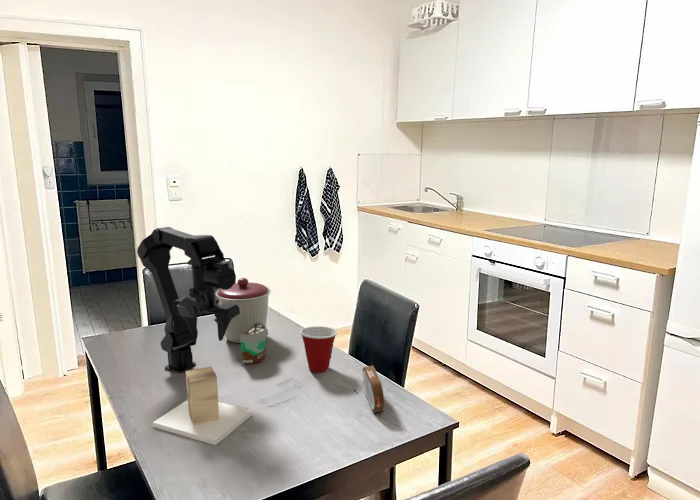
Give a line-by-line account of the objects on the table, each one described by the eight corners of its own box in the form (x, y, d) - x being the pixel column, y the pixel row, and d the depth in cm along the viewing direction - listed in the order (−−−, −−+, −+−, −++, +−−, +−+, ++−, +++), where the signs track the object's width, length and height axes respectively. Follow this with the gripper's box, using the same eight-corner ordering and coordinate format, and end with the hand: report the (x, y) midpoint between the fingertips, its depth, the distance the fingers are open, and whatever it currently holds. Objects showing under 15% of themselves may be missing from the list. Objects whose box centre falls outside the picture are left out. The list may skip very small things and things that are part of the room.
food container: (260, 369, 150) (259, 337, 148) (240, 367, 151) (239, 335, 149) (274, 352, 162) (273, 322, 160) (256, 350, 163) (255, 321, 161)
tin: (385, 417, 124) (385, 386, 122) (372, 419, 123) (373, 387, 121) (372, 388, 138) (372, 360, 136) (361, 389, 138) (361, 360, 136)
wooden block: (188, 413, 123) (185, 371, 121) (213, 407, 126) (211, 366, 123) (193, 425, 118) (190, 381, 115) (219, 419, 120) (216, 376, 118)
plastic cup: (343, 364, 153) (343, 327, 150) (327, 379, 143) (326, 339, 141) (311, 358, 157) (311, 321, 155) (293, 372, 148) (293, 333, 145)
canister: (229, 327, 184) (226, 270, 179) (278, 329, 181) (276, 272, 177) (209, 346, 166) (205, 284, 162) (262, 349, 164) (260, 286, 159)
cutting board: (153, 426, 119) (152, 422, 119) (193, 399, 132) (193, 395, 132) (215, 445, 112) (215, 440, 112) (252, 414, 125) (251, 410, 124)
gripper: (154, 286, 132) (159, 342, 136) (212, 294, 125) (215, 354, 128) (184, 276, 142) (187, 328, 146) (239, 283, 135) (242, 339, 138)
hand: (207, 337), depth 139 cm, fingers open, 9 cm apart
